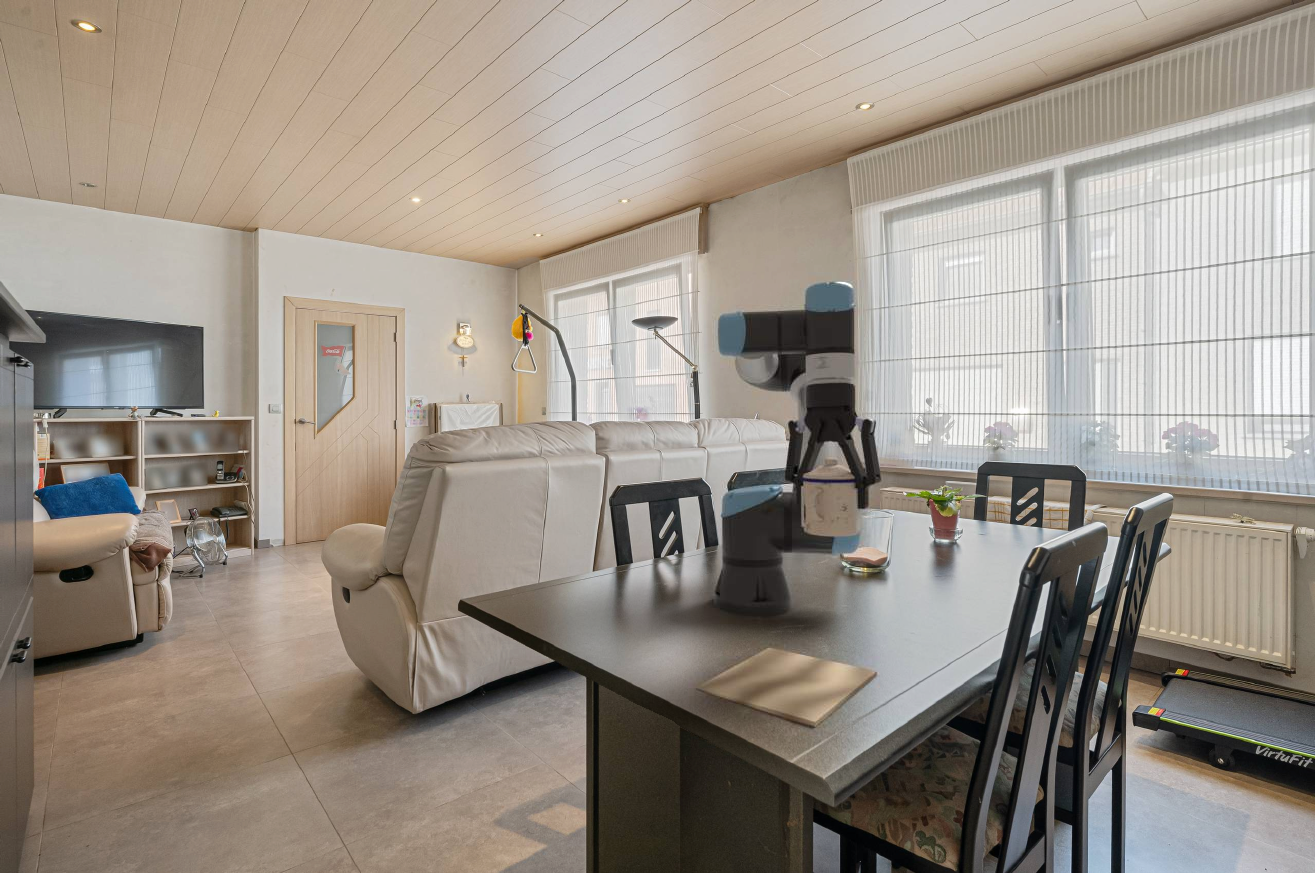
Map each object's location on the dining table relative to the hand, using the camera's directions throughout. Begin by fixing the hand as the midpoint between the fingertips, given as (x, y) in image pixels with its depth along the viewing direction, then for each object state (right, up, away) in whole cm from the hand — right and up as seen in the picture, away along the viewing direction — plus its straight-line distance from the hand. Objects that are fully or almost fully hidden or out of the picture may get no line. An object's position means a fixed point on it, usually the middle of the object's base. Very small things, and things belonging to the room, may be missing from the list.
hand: (831, 527), depth 103 cm
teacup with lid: (-1, -1, -1) cm, 2 cm away
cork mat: (-10, -19, -14) cm, 26 cm away
